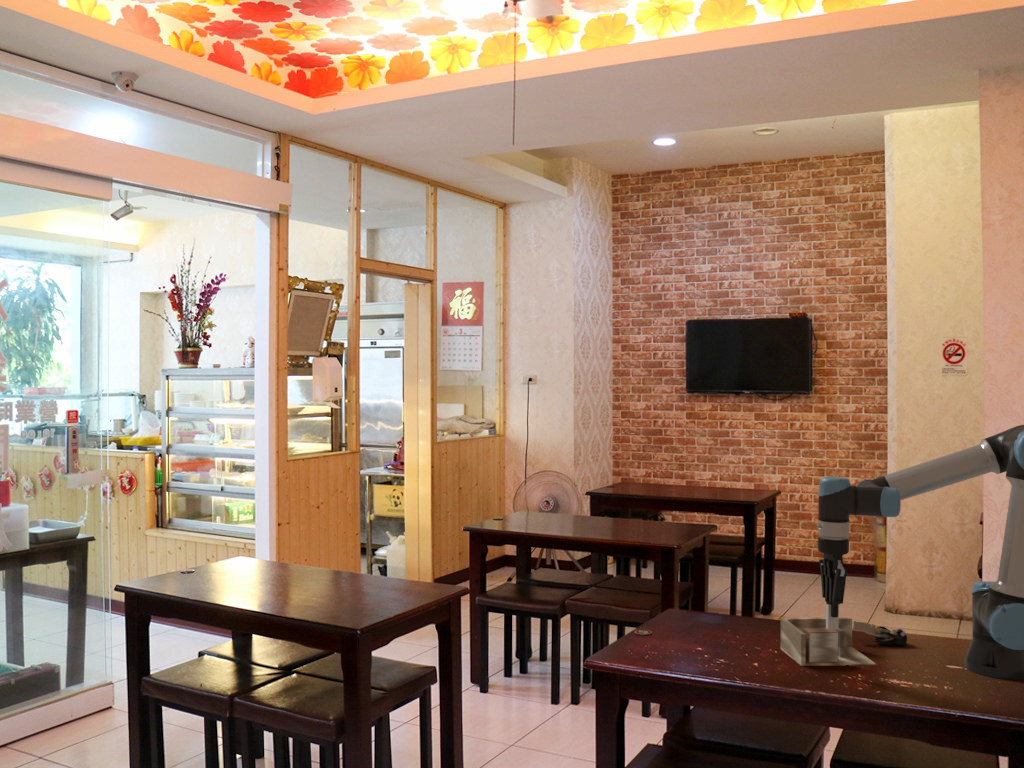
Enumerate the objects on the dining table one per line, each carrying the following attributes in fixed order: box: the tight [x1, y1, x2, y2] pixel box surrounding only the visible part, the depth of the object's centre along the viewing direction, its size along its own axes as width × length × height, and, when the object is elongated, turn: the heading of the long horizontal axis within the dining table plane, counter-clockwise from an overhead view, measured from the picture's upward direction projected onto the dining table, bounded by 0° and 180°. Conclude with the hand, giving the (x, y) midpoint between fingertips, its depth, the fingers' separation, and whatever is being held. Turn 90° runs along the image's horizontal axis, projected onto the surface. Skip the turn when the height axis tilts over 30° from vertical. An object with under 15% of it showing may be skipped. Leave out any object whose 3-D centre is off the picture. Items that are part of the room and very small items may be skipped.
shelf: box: [779, 616, 877, 667], centre depth 246 cm, size 20×16×9 cm
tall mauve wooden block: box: [803, 628, 838, 663], centre depth 241 cm, size 8×4×8 cm, turn 92°
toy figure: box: [852, 620, 908, 647], centre depth 260 cm, size 7×6×15 cm
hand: (832, 628), depth 233 cm, fingers closed
